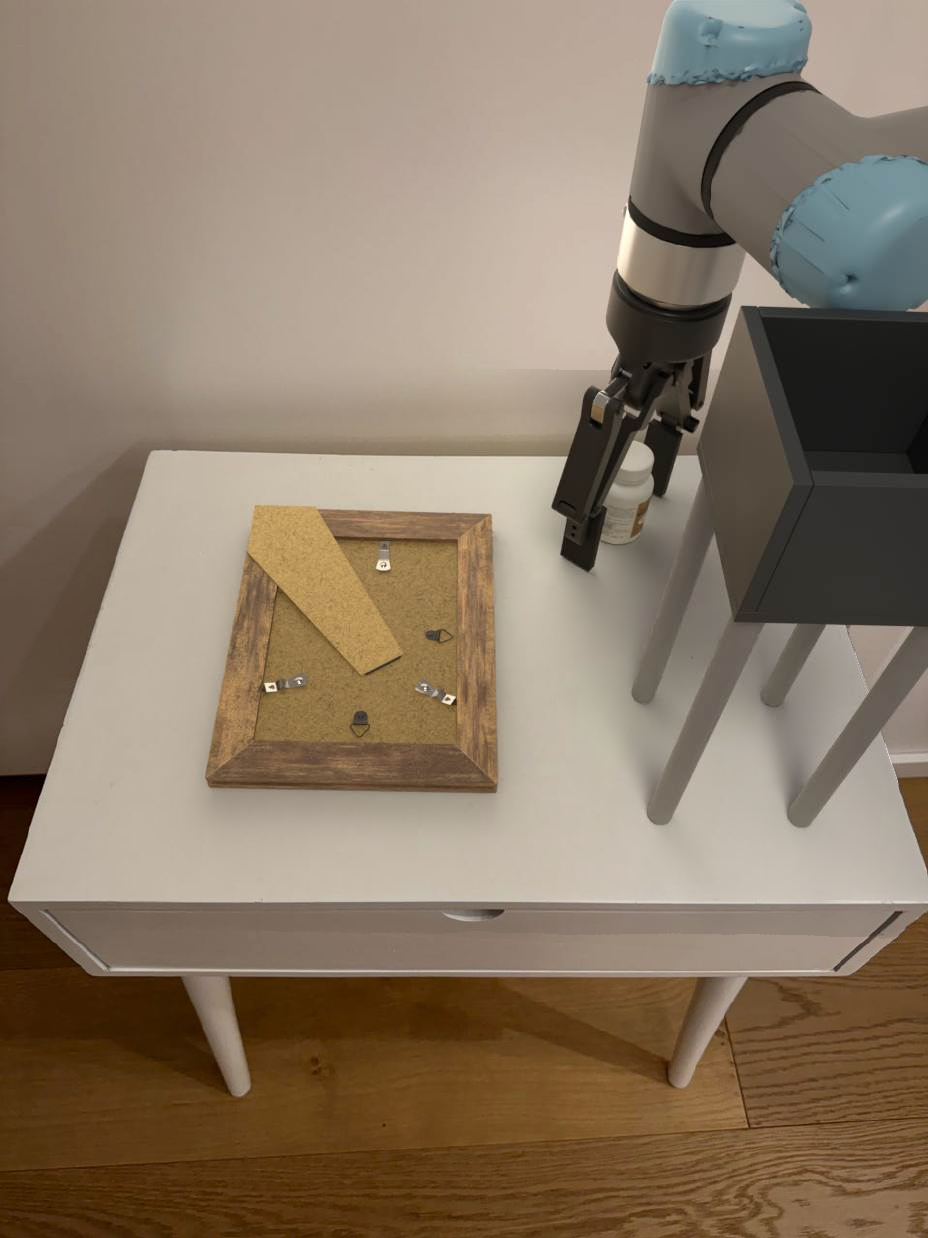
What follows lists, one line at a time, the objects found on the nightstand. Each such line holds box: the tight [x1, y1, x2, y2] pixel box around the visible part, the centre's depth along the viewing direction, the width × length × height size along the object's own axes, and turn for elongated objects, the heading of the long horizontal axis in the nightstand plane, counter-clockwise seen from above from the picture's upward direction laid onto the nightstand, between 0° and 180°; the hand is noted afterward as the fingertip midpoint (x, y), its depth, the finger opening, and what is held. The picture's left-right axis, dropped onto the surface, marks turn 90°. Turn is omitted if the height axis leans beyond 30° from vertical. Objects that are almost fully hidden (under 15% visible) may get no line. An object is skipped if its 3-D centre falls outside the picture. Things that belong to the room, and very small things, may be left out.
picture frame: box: [204, 504, 499, 794], centre depth 68 cm, size 19×2×24 cm
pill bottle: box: [600, 439, 654, 545], centre depth 74 cm, size 4×4×8 cm
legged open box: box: [631, 305, 928, 829], centre depth 52 cm, size 12×12×31 cm
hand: (614, 522), depth 77 cm, fingers open, 10 cm apart
